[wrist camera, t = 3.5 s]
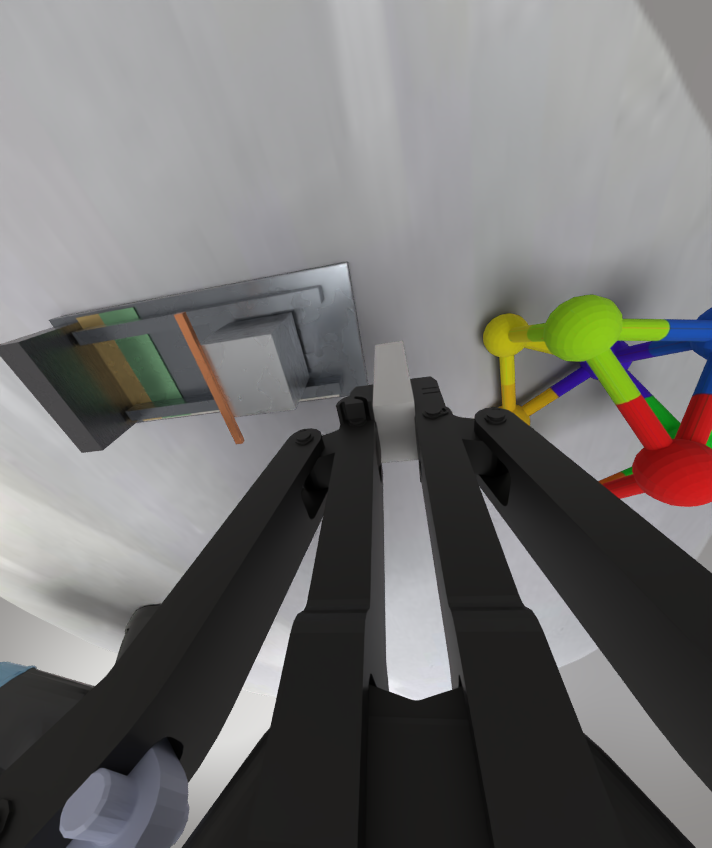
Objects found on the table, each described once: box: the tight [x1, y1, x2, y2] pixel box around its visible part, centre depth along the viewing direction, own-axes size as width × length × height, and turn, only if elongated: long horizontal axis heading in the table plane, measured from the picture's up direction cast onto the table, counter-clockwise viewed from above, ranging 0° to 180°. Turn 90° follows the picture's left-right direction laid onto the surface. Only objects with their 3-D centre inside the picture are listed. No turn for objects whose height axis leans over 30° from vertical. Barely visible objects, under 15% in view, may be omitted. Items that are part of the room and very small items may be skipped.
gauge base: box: [0, 262, 368, 453], centre depth 23 cm, size 24×10×6 cm, turn 100°
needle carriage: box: [174, 312, 309, 444], centre depth 22 cm, size 5×9×6 cm, turn 10°
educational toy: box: [483, 295, 712, 507], centre depth 19 cm, size 16×13×15 cm
